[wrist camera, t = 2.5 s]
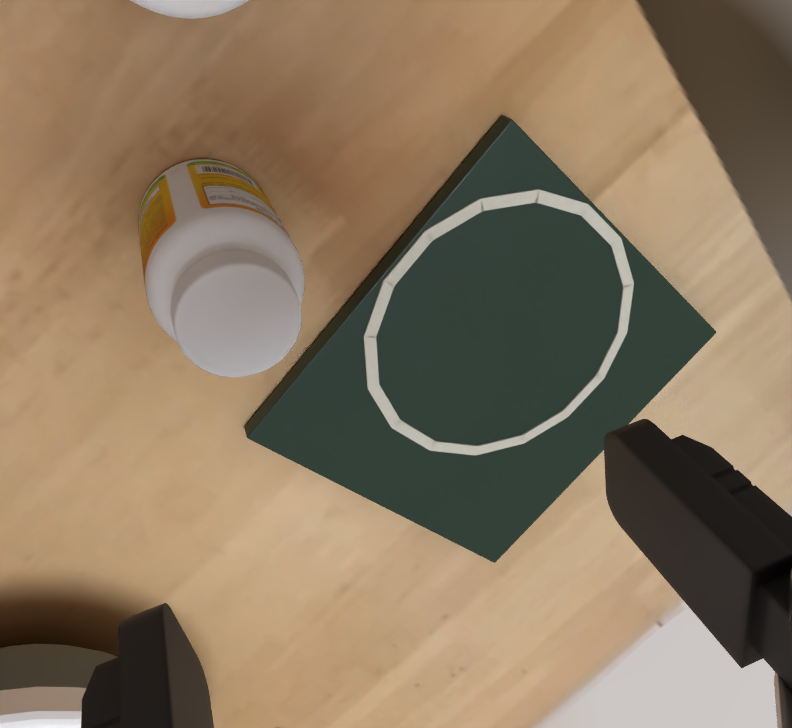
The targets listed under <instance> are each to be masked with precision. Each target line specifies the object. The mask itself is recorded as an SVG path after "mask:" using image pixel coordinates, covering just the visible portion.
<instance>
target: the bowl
mask: <svg viewBox="0 0 792 728" xmlns="http://www.w3.org/2000/svg"><path fill="white" fill-rule="evenodd" d="M115 658H117V656H114V655H111V654H109V653H106V652H103V651H97V650H92V649H86V648H81V647H76V646H70V645H61V644H27V645H15V646H7V647H2V648H0V728H81V713H82V698H83V695H84V693H85V691H86V688H87V686H88V684H89V681H90V679H91V676H92V674H93V672H94V669H95V667H96V666H97V665H100V664H102V663H105V662H107V661H110V660H112V659H115Z"/></svg>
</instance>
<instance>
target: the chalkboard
mask: <svg viewBox="0 0 792 728" xmlns="http://www.w3.org/2000/svg"><path fill="white" fill-rule="evenodd" d="M715 333H716V331H715V330H714V329H713V328H712V327H711V326H710V325H709V324H708V323H707V322H706V321H705V319H704V318H703V317H702V316H701V315H700V314H699V313H698V312H697V311H696V310H695V309H694V308H693V307H692V306H691V305H690V304H689V303H688V302H687V301H686V300H685V299H684V298H683V297H682V296H681V295H680V294H679V292H678V291H677V290H676V289H675V288H674V287H673V286H672V285H671V284H670V283H669V282H668V281H667V280H666V279H665V278H664V277H663V276H662V275H661V274H660V273H659V272H658V271H657V270H656V269H655V268H654V266H653V265H652V264H651V263H650V262H649V261H648V260H647V259H646V258H645V257H644V256H643V255H642V254H641V253H640V252H639V251H638V250H637V249H636V248H635V247H634V246H633V245H632V244H631V243H630V242H629V240H628V239H627V238H626V237H625V236H624V235H623V234H622V233H621V232H620V231H619V230H618V229H617V228H616V227H615V226H614V225H613V224H612V223H611V222H610V221H609V220H608V219H607V218H606V217H605V216H604V214H603V213H602V212H601V211H600V210H599V209H598V208H597V207H596V206H595V205H594V204H593V203H592V202H591V201H590V200H589V199H588V198H587V197H586V196H585V195H584V194H583V193H582V192H581V191H580V190H579V188H578V187H577V186H576V185H575V184H574V183H573V182H572V181H571V180H570V179H569V178H568V177H567V176H566V175H565V174H564V173H563V172H562V171H561V170H560V169H559V168H558V167H557V166H556V165H555V164H554V163H553V161H552V160H551V159H550V158H549V157H548V156H547V155H546V154H545V153H544V152H543V151H542V150H541V149H540V148H539V147H538V146H537V145H536V144H535V143H534V142H533V141H532V140H531V139H530V138H529V137H528V135H527V134H526V133H525V132H524V131H523V130H522V129H521V128H520V127H519V126H518V125H517V124H516V123H515V122H514V121H513V120H512V119H510V118H508V117H506V116H503V115H502V116H501V117H500V118H499V120H498V121H497V122H496V123H495V124H494V126H493V127H492V128H491V129H490V131H489V132H488V133H487V134H486V135H485V137H484V138H483V139H482V140H481V141H480V143H479V144H478V145H477V146H476V147H475V149H474V150H473V151H472V152H471V153H470V155H469V156H468V157H467V158H466V160H465V161H464V162H463V163H462V164H461V166H460V167H459V168H458V169H457V170H456V172H455V173H454V174H453V175H452V176H451V178H450V179H449V180H448V181H447V182H446V184H445V185H444V186H443V187H442V189H441V190H440V191H439V192H438V193H437V195H436V196H435V197H434V198H433V199H432V201H431V202H430V203H429V204H428V205H427V207H426V208H425V209H424V210H423V211H422V213H421V214H420V215H419V216H418V218H417V219H416V220H415V221H414V222H413V224H412V225H411V226H410V227H409V228H408V230H407V231H406V232H405V233H404V234H403V236H402V237H401V238H400V239H399V240H398V242H397V243H396V244H395V245H394V247H393V248H392V249H391V250H390V251H389V253H388V254H387V255H386V256H385V257H384V259H383V260H382V261H381V262H380V263H379V265H378V266H377V267H376V268H375V269H374V271H373V272H372V273H371V274H370V276H369V277H368V278H367V279H366V280H365V282H364V283H363V284H362V285H361V286H360V288H359V289H358V290H357V291H356V292H355V294H354V295H353V296H352V297H351V298H350V300H349V301H348V302H347V303H346V305H345V306H344V307H343V308H342V309H341V311H340V312H339V313H338V314H337V315H336V317H335V318H334V319H333V320H332V321H331V323H330V324H329V325H328V326H327V327H326V329H325V330H324V331H323V332H322V334H321V335H320V336H319V337H318V338H317V340H316V341H315V342H314V343H313V344H312V346H311V347H310V348H309V349H308V350H307V352H306V353H305V354H304V355H303V356H302V358H301V359H300V360H299V361H298V363H297V364H296V365H295V366H294V367H293V369H292V370H291V371H290V372H289V373H288V375H287V376H286V377H285V378H284V379H283V381H282V382H281V383H280V384H279V385H278V387H277V388H276V389H275V390H274V392H273V393H272V394H271V395H270V396H269V398H268V399H267V400H266V401H265V402H264V404H263V405H262V406H261V407H260V408H259V410H258V411H257V412H256V413H255V414H254V416H253V417H252V418H251V419H250V421H249V422H248V423H247V424H246V425H245V427H244V428H245V432H246V435H247V438H248V439H250V440H252V441H254V442H256V443H258V444H260V445H262V446H264V447H266V448H268V449H270V450H272V451H274V452H276V453H278V454H280V455H282V456H284V457H286V458H288V459H290V460H292V461H294V462H296V463H298V464H300V465H302V466H304V467H306V468H308V469H310V470H312V471H314V472H316V473H318V474H320V475H322V476H324V477H326V478H328V479H330V480H332V481H334V482H336V483H338V484H340V485H342V486H344V487H345V488H347V489H349V490H351V491H353V492H355V493H357V494H359V495H361V496H363V497H365V498H367V499H369V500H371V501H373V502H375V503H377V504H379V505H381V506H383V507H385V508H387V509H389V510H391V511H393V512H395V513H397V514H399V515H401V516H403V517H405V518H407V519H409V520H411V521H413V522H415V523H417V524H419V525H421V526H423V527H425V528H427V529H429V530H431V531H433V532H435V533H437V534H439V535H441V536H443V537H445V538H447V539H449V540H451V541H452V542H454V543H456V544H458V545H460V546H462V547H464V548H466V549H468V550H470V551H472V552H474V553H476V554H478V555H480V556H482V557H484V558H486V559H488V560H490V561H492V562H494V563H495V562H496V561H497V560H498V559H499V558H500V557H501V556H502V555H503V554H504V553H505V552H506V551H507V550H508V549H509V548H510V547H511V545H512V544H513V543H514V542H515V541H516V540H517V539H518V538H519V537H520V536H521V535H522V534H523V533H524V532H525V531H526V530H527V529H528V528H529V527H530V526H531V525H532V524H533V523H534V522H535V521H536V519H537V518H538V517H539V516H540V515H541V514H542V513H543V512H544V511H545V510H546V509H547V508H548V507H549V506H550V505H551V504H552V503H553V502H554V501H555V500H556V499H557V498H558V497H559V496H560V495H561V493H562V492H563V491H564V490H565V489H566V488H567V487H568V486H569V485H570V484H571V483H572V482H573V481H574V480H575V479H576V478H577V477H578V476H579V475H580V474H581V473H582V472H583V471H584V470H585V469H586V468H587V466H588V465H589V464H590V463H591V462H592V461H593V460H594V459H595V458H596V457H597V456H598V455H599V454H600V453H601V452H602V451H603V450H604V437H605V435H606V434H607V433H608V432H611V431H614V430H616V429H619V428H621V427H624V426H626V425H628V424H629V423H630V422H631V421H632V420H633V419H634V418H635V417H636V416H637V414H638V413H639V412H640V411H641V410H642V409H643V408H644V407H645V406H646V405H647V404H648V403H649V402H650V401H651V400H652V399H653V398H654V397H655V396H656V395H657V394H658V393H659V392H660V391H661V390H662V389H663V387H664V386H665V385H666V384H667V383H668V382H669V381H670V380H671V379H672V378H673V377H674V376H675V375H676V374H677V373H678V372H679V371H680V370H681V369H682V368H683V367H684V366H685V365H686V364H687V363H688V361H689V360H690V359H691V358H692V357H693V356H694V355H695V354H696V353H697V352H698V351H699V350H700V349H701V348H702V347H703V346H704V345H705V344H706V343H707V342H708V341H709V340H710V339H711V338H712V337H713V335H714V334H715Z"/></svg>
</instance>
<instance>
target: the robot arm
mask: <svg viewBox="0 0 792 728" xmlns="http://www.w3.org/2000/svg"><path fill="white" fill-rule="evenodd" d="M604 456H605V479H606V495H607V500H608V504H609V506H610V509H611V511H612V513H613V515H614V517H615V519H616V521H617V522H618V524H619V525H620V526H621V528H622V529H623V530H624V531H625V532H626V533H627V535H628V536H629V537H630V538H631V539H632V540H633V542H634V543H635V544H636V545H637V546H638V547H639V549H640V550H641V551H642V552H643V553H644V554H645V556H646V557H647V558H648V559H649V560H650V562H651V563H652V564H653V565H654V566H655V567H656V569H657V570H658V571H659V572H660V573H661V574H662V576H663V577H664V578H665V579H666V580H667V581H668V583H669V584H670V585H671V586H672V587H673V588H674V590H675V591H676V592H677V593H678V594H679V596H680V597H681V598H682V599H683V600H684V601H685V603H686V604H687V605H688V606H689V607H690V608H691V610H692V611H693V612H694V613H695V614H696V615H697V617H698V618H699V619H700V620H701V621H702V622H703V624H704V625H705V626H706V627H707V628H708V630H709V631H710V632H711V633H712V634H713V635H714V637H715V638H716V639H717V640H718V641H719V642H720V644H721V645H722V646H723V647H724V648H725V649H726V651H727V652H728V653H729V654H730V655H731V656H732V658H733V659H734V660H735V661H736V662H737V664H738V665H739V666H740V667H741V668H743V667H745V666H747V665H749V664H752V663H754V662H756V661H758V660H760V659H762V658H764V660H766V662H767V663H768V664H769V665H770V666H771V667H772V668H773V670H774V671H775V676H774V686H775V699H776V712H777V726H778V728H792V517H791V516H790V515H789V514H788V513H787V512H785V511H784V510H783V509H782V508H781V507H780V506H778V505H777V504H776V503H775V502H774V501H773V500H772V499H770V498H769V497H768V496H767V495H766V494H765V493H763V492H762V491H761V490H760V489H759V488H758V487H757V486H753V485H752V484H751V481H750V480H748V479H747V478H746V477H745V476H744V475H743V474H742V473H740V472H739V471H738V470H736V471H735V470H734V468H733V466H732V465H731V464H730V463H729V462H728V461H727V460H725V459H724V458H723V457H722V456H721V455H720V454H719V453H717V452H716V451H715V450H714V449H713V448H712V447H709V446H707V445H705V444H702V443H700V442H698V441H695V440H693V439H691V438H689V437H686V436H684V435H681V436H679V437H676V438H674V439H670V438H669V437H668V436H667V435H666V434H665V433H664V432H662V431H661V430H660V429H659V428H658V427H657V426H656V425H655V424H654V423H652V422H651V421H649V420H647V419H642V420H639V421H637V422H634V423H632V424H629V425H626V426H624V427H621V428H619V429H616V430H614V431H611V432H608V433H607V434H606V435H605V437H604ZM118 641H119V657H117V658H115V659H112V660H110V661H107V662H105V663H102V664H100V665H97V666H96V667H95V669H94V672H93V674H92V676H91V679H90V681H89V684H88V686H87V688H86V691H85V693H84V695H83V698H82V713H81V728H214V725H213V718H212V710H211V703H210V696H209V690H208V686H207V682H206V678H205V675H204V671H203V669H202V666H201V663H200V661H199V659H198V657H197V655H196V653H195V651H194V649H193V648H192V646H191V644H190V642H189V640H188V639H187V637H186V635H185V633H184V631H183V630H182V628H181V626H180V624H179V622H178V621H177V619H176V617H175V615H174V613H173V612H172V610H171V608H170V607H169V605H168V604H166V603H164V604H162V605H159V606H156V607H154V608H151V609H149V610H146V611H143V612H141V613H138V614H136V615H133V616H131V617H128V618H125V619H123V620H121V621H120V622H119V627H118Z"/></svg>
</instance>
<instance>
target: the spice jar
mask: <svg viewBox="0 0 792 728" xmlns="http://www.w3.org/2000/svg"><path fill="white" fill-rule="evenodd" d="M131 1H132V2H134V3H136V4H137V5H139V6H141V7H144V8H146V9H148V10H150V11H153V12H156V13H159V14H162V15H166V16H170V17H176V18H185V19H200V18H208V17H213V16H218V15H221V14H224V13H226V12H229V11H231V10H233V9H235V8H237V7H239V6H241V5H243V4H244V3H246V2H247V1H249V0H131Z"/></svg>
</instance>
